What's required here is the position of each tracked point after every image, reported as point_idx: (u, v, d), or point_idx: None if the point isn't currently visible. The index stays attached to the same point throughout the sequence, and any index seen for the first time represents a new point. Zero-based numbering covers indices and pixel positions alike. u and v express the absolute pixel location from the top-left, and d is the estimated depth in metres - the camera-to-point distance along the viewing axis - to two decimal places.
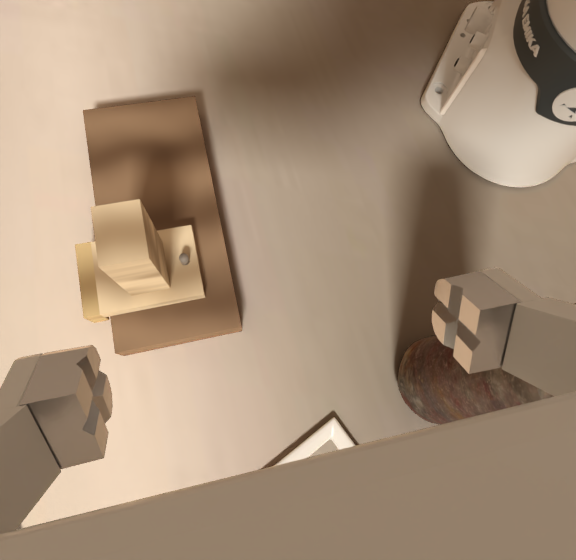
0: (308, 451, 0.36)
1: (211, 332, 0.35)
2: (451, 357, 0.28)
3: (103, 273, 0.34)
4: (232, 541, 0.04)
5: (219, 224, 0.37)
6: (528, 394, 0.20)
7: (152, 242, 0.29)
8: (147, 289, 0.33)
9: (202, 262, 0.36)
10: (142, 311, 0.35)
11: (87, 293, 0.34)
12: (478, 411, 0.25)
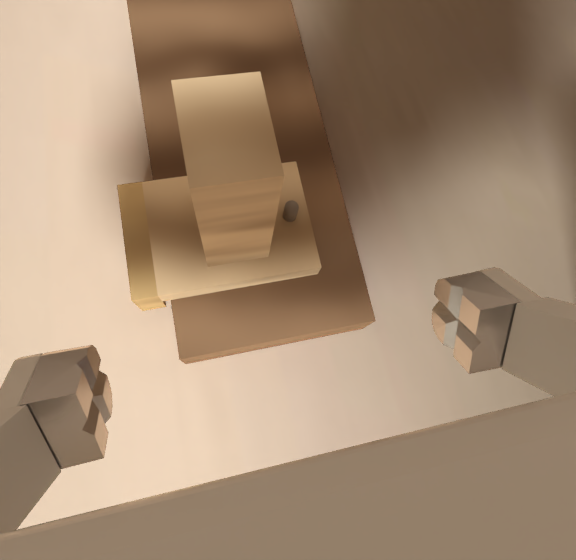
0: None
1: (329, 328, 0.22)
2: None
3: (162, 230, 0.21)
4: (232, 541, 0.04)
5: (332, 165, 0.25)
6: None
7: None
8: (236, 255, 0.20)
9: None
10: (221, 293, 0.22)
11: (137, 261, 0.21)
12: None
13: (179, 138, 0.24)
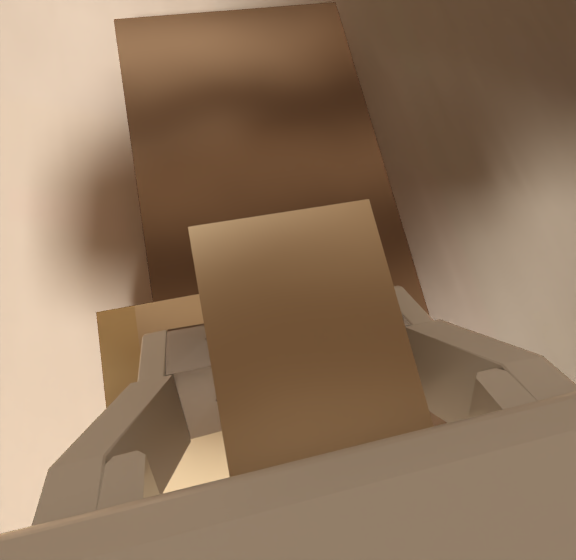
0: None
1: None
2: None
3: None
4: (232, 541, 0.04)
5: (410, 261, 0.17)
6: None
7: None
8: None
9: None
10: None
11: None
12: None
13: (189, 225, 0.17)
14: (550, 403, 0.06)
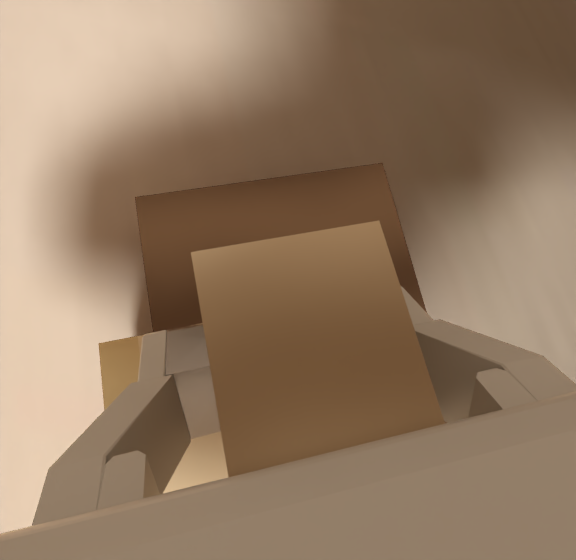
0: None
1: None
2: None
3: None
4: (232, 541, 0.04)
5: None
6: None
7: None
8: None
9: None
10: None
11: None
12: None
13: None
14: (550, 403, 0.06)
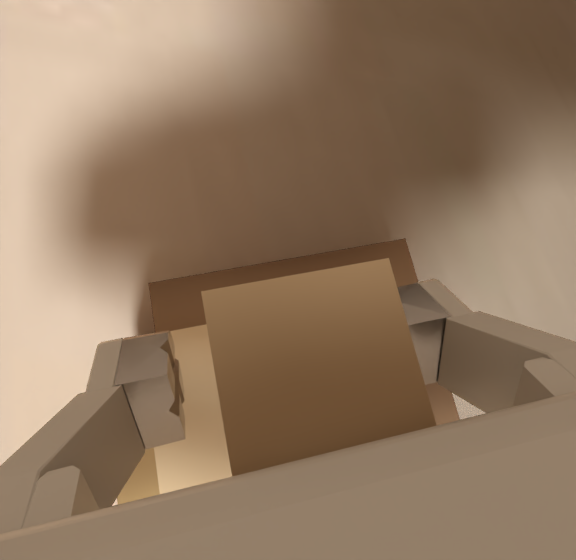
0: None
1: None
2: None
3: None
4: (232, 541, 0.04)
5: None
6: None
7: None
8: None
9: None
10: None
11: (132, 478, 0.13)
12: None
13: None
14: (550, 403, 0.06)
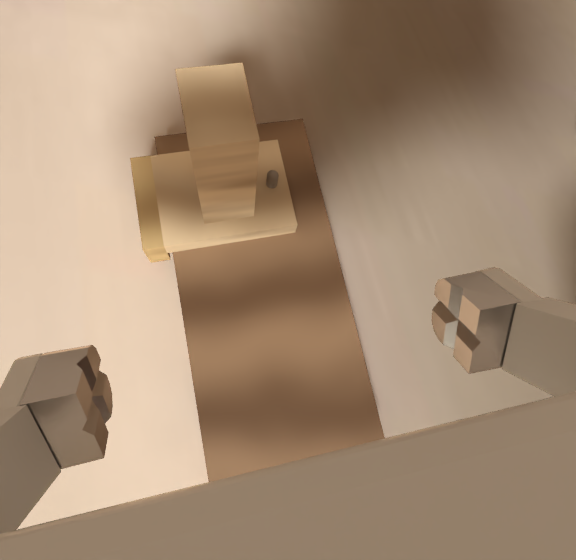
0: None
1: None
2: None
3: (167, 194, 0.26)
4: (232, 541, 0.04)
5: (346, 298, 0.27)
6: None
7: None
8: (227, 213, 0.25)
9: (326, 354, 0.26)
10: (247, 430, 0.24)
11: (147, 219, 0.26)
12: None
13: (206, 276, 0.26)
14: (550, 403, 0.06)
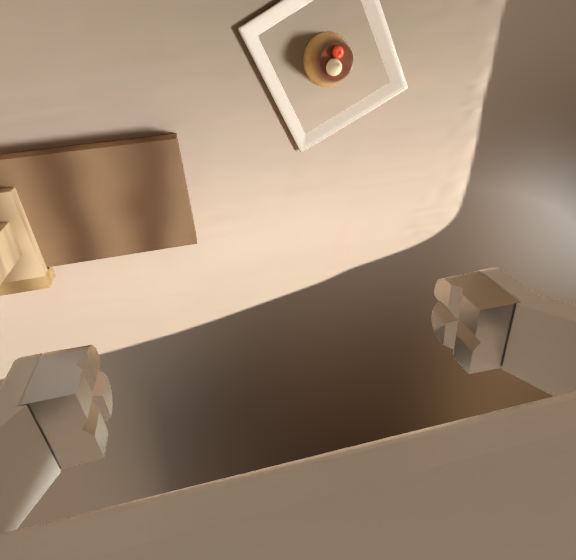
0: (265, 62, 0.38)
1: (181, 166, 0.39)
2: None
3: None
4: (232, 541, 0.04)
5: (66, 153, 0.36)
6: None
7: None
8: (12, 243, 0.37)
9: (111, 172, 0.38)
10: (161, 224, 0.41)
11: (25, 286, 0.40)
12: None
13: (61, 247, 0.40)
14: (550, 403, 0.06)
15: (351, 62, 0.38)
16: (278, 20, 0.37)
